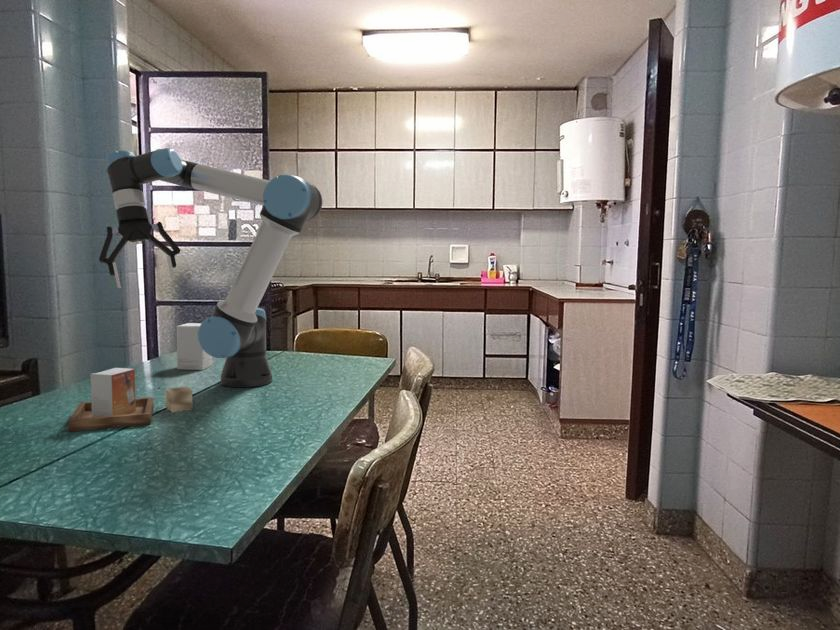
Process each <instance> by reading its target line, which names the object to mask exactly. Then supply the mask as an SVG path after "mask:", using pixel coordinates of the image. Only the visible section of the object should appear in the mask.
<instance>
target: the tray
mask: <svg viewBox="0 0 840 630" xmlns="http://www.w3.org/2000/svg"><path fill="white" fill-rule="evenodd" d="M135 398H136V411H135V412H132V413H129V414H126V415H114V416H102V417H92V403H91V401H80V402H79V404H78V405H77V407H76V408H75V410H74V411H73V413H72V414H71V416H70V417H69V419H68V421H67V424H68V425H67V426H68V432H69V433H72V432H74V433H75V432H82V431H84V430H85V431H94V430H105V429H115V428H118V429H119V428H125V427H126V428H129V427H137V426H140V427H141V426H146V425H147V426H149V425H151V424H152V419H153V413H154V408H155V407H154V406H155V403H154V402H155V401H154V396H150V397H149V396H148V397H135ZM85 431H84V432H85Z"/></svg>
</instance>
